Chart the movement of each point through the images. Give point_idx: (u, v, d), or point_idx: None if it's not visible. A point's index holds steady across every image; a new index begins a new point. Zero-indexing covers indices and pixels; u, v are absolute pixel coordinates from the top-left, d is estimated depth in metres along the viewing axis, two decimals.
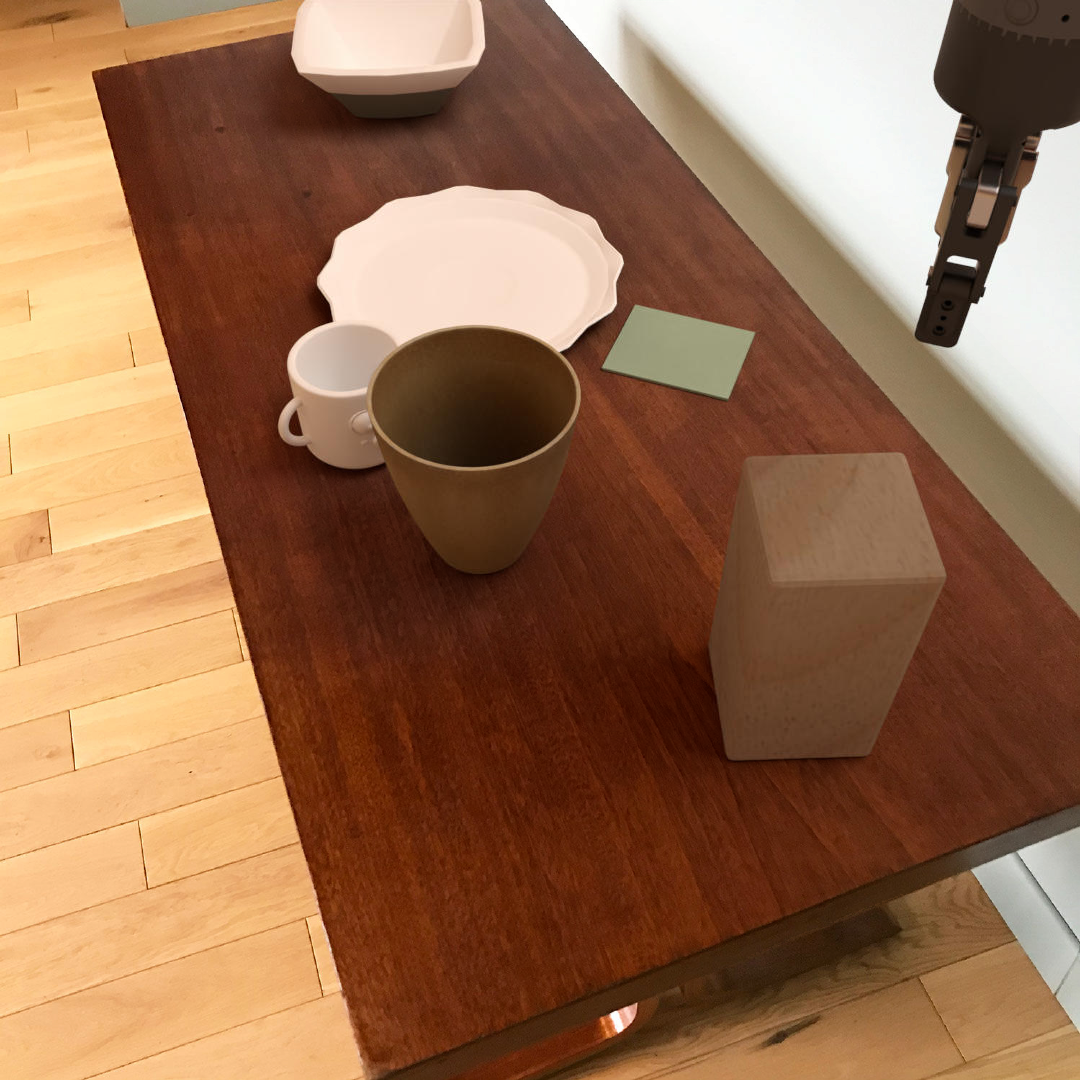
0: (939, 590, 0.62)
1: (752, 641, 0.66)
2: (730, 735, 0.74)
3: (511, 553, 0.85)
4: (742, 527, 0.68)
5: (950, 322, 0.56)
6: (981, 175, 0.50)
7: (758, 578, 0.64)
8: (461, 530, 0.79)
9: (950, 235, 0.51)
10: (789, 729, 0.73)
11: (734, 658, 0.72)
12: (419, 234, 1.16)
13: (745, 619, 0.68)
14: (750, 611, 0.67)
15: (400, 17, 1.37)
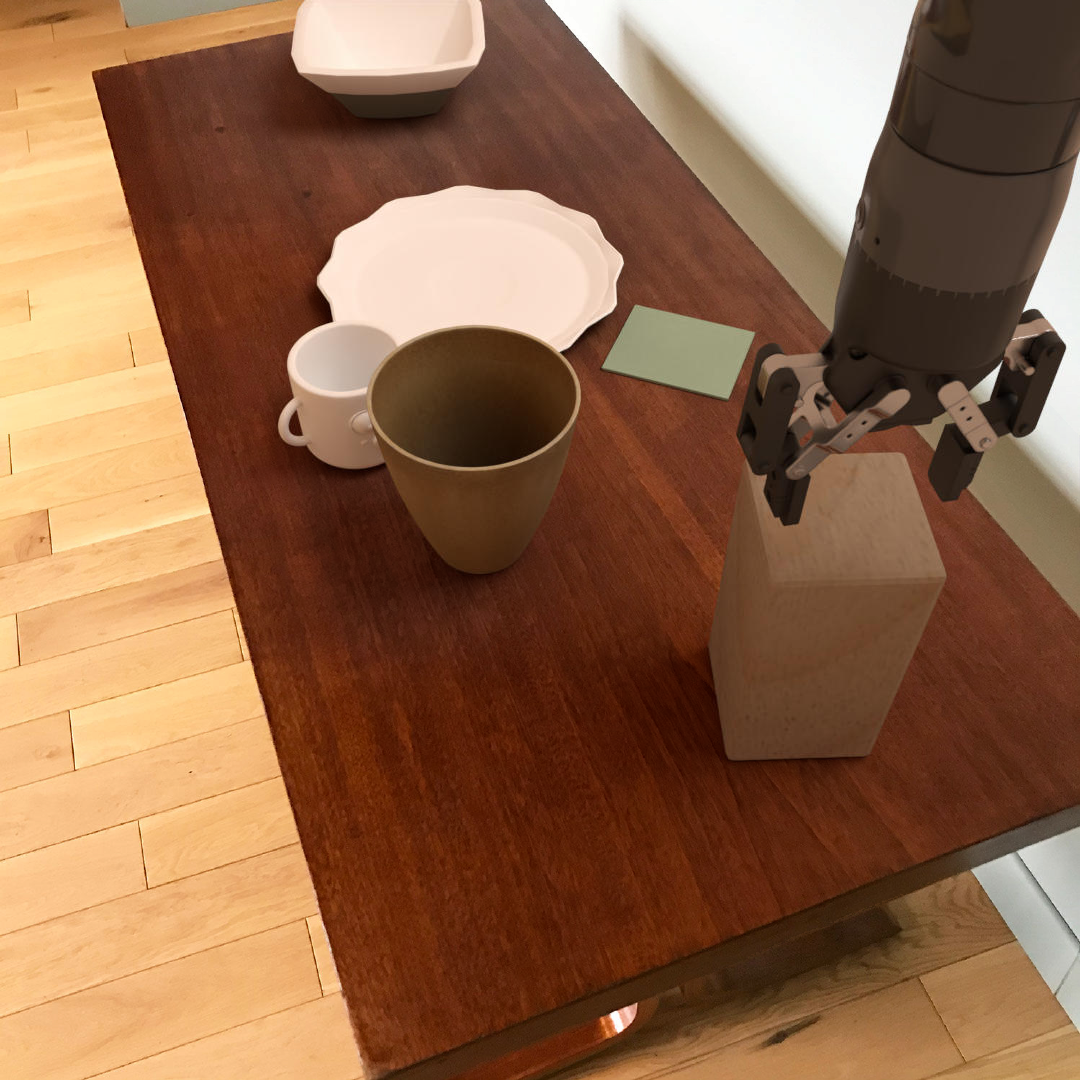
0: (939, 590, 0.62)
1: (752, 641, 0.66)
2: (730, 735, 0.74)
3: (511, 553, 0.85)
4: (742, 527, 0.68)
5: (773, 494, 0.55)
6: (796, 355, 0.49)
7: (758, 578, 0.64)
8: (461, 530, 0.79)
9: (749, 390, 0.51)
10: (789, 729, 0.73)
11: (734, 658, 0.72)
12: (419, 234, 1.16)
13: (745, 619, 0.68)
14: (750, 611, 0.67)
15: (400, 17, 1.37)
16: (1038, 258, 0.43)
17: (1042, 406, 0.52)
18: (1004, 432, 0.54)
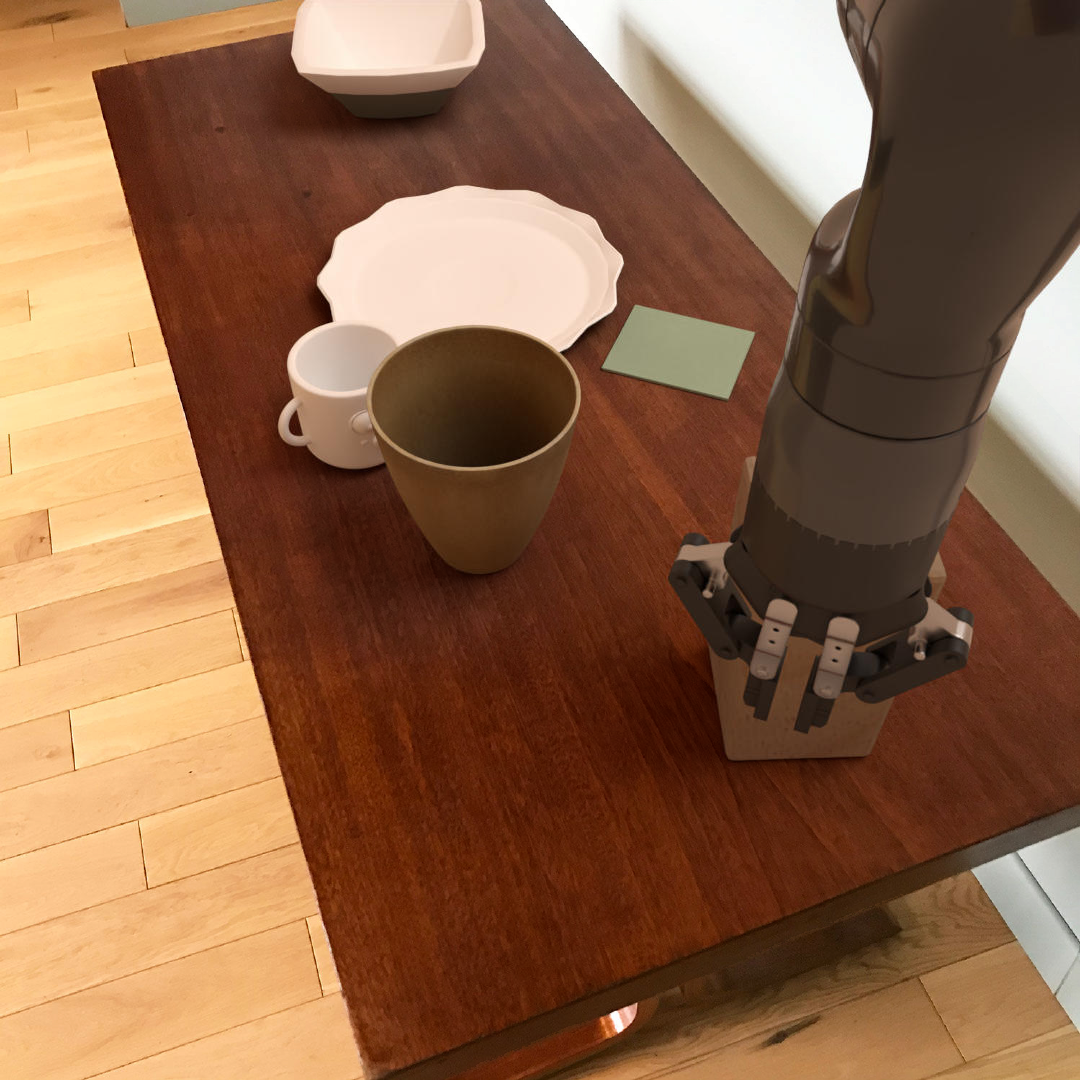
0: (939, 590, 0.62)
1: None
2: (730, 735, 0.74)
3: (511, 553, 0.85)
4: None
5: None
6: (705, 545, 0.49)
7: None
8: (461, 530, 0.79)
9: None
10: (789, 729, 0.73)
11: None
12: (419, 234, 1.16)
13: None
14: None
15: (400, 17, 1.37)
16: (903, 527, 0.39)
17: (899, 692, 0.48)
18: (855, 689, 0.50)
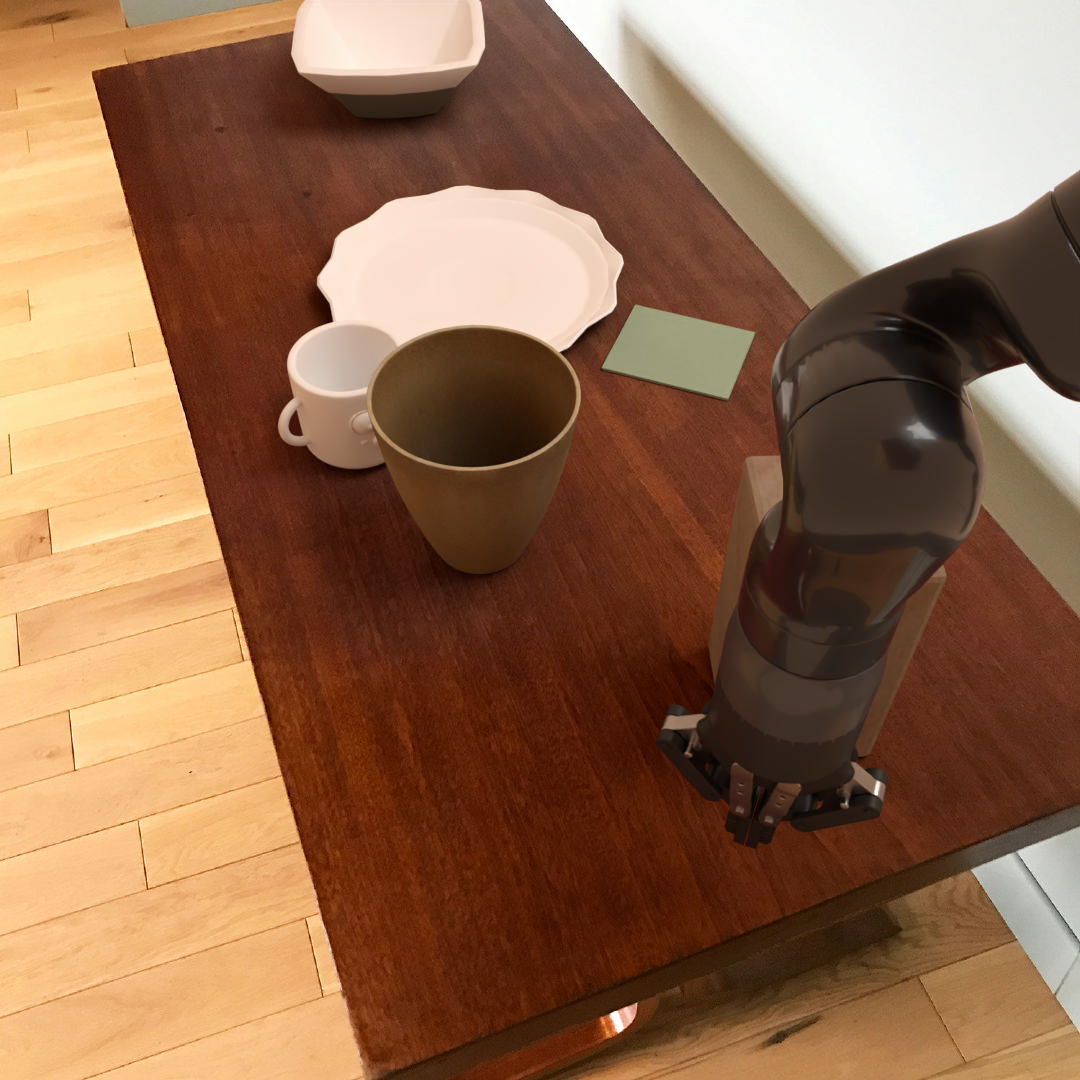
0: (939, 590, 0.62)
1: None
2: None
3: (511, 553, 0.85)
4: (742, 527, 0.68)
5: None
6: (683, 716, 0.61)
7: None
8: (461, 530, 0.79)
9: None
10: None
11: None
12: (419, 234, 1.16)
13: None
14: None
15: (400, 17, 1.37)
16: (827, 732, 0.51)
17: (825, 827, 0.61)
18: (791, 819, 0.63)
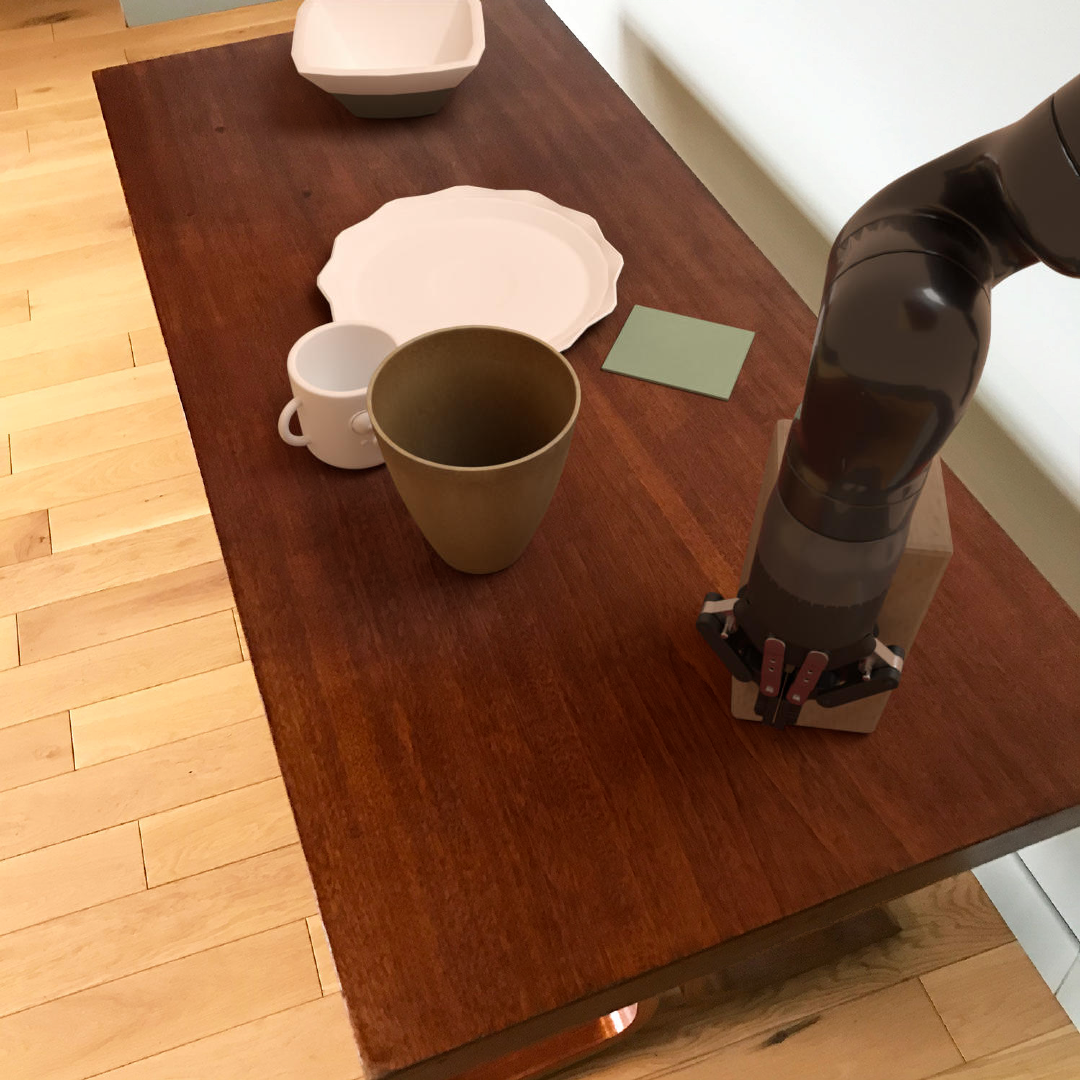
0: (945, 565, 0.63)
1: None
2: (736, 692, 0.76)
3: (511, 553, 0.85)
4: (766, 487, 0.70)
5: None
6: (720, 601, 0.68)
7: None
8: (461, 530, 0.79)
9: None
10: None
11: None
12: (419, 234, 1.16)
13: None
14: None
15: (400, 17, 1.37)
16: (856, 595, 0.58)
17: (848, 701, 0.68)
18: (816, 698, 0.70)
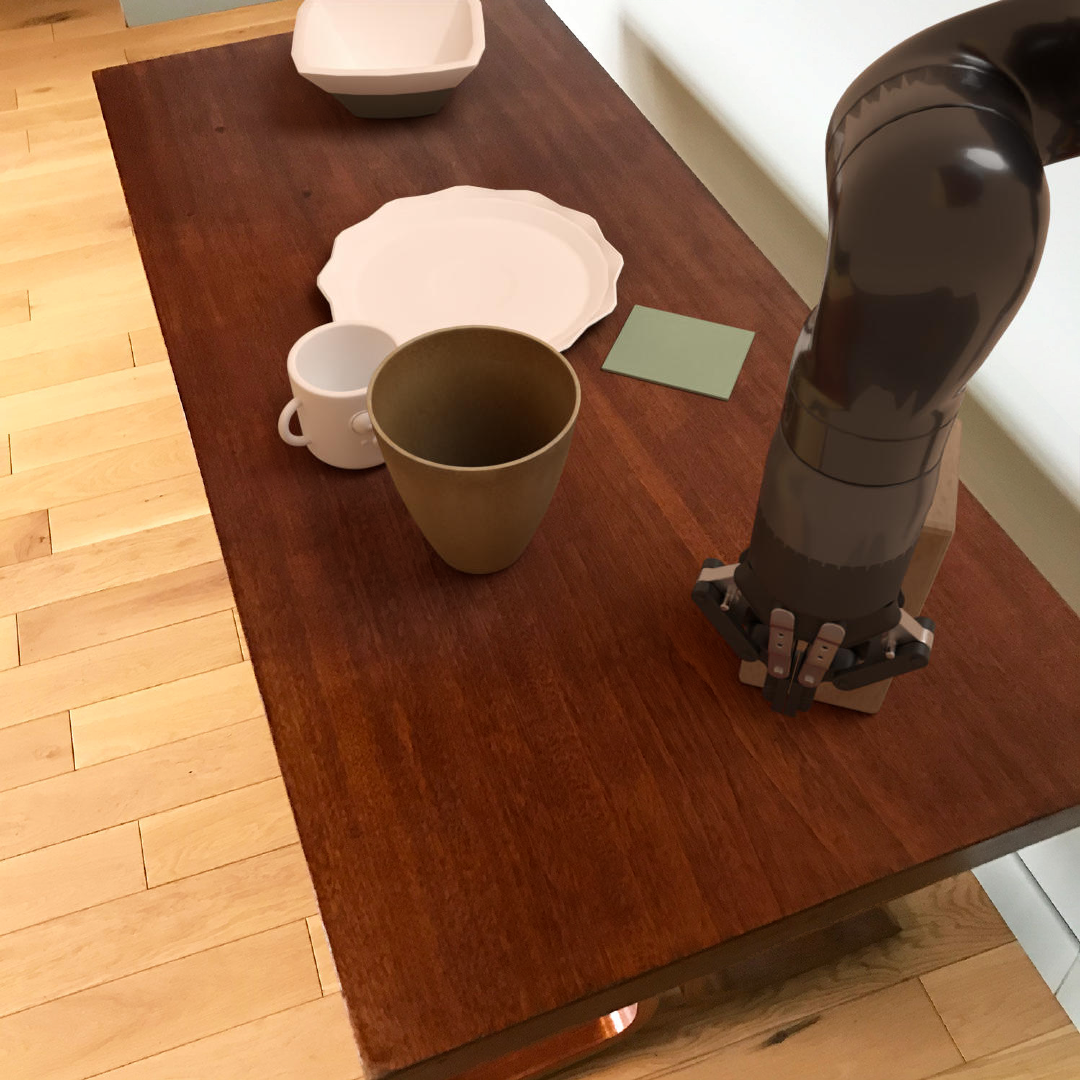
0: (945, 544, 0.64)
1: None
2: None
3: (511, 553, 0.85)
4: None
5: None
6: (720, 567, 0.59)
7: None
8: (461, 530, 0.79)
9: None
10: (797, 662, 0.77)
11: None
12: (419, 234, 1.16)
13: None
14: None
15: (400, 17, 1.37)
16: (875, 553, 0.49)
17: (869, 683, 0.59)
18: (833, 679, 0.60)
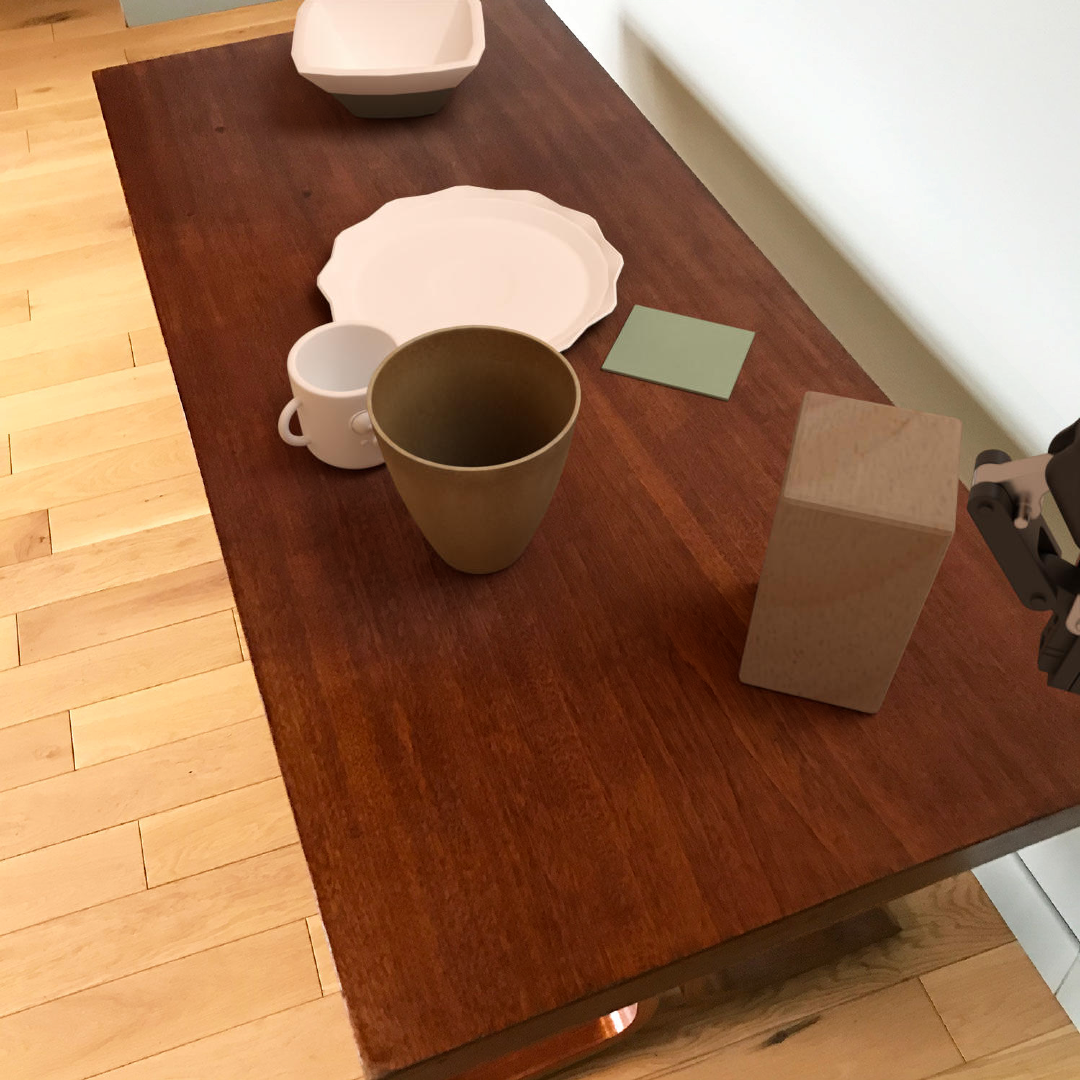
0: (945, 545, 0.64)
1: (766, 558, 0.70)
2: (743, 656, 0.79)
3: (511, 553, 0.85)
4: None
5: (1046, 640, 0.43)
6: (1012, 462, 0.38)
7: None
8: (461, 530, 0.79)
9: None
10: (797, 663, 0.77)
11: (760, 581, 0.76)
12: (419, 234, 1.16)
13: None
14: None
15: (400, 17, 1.37)
16: None
17: None
18: None
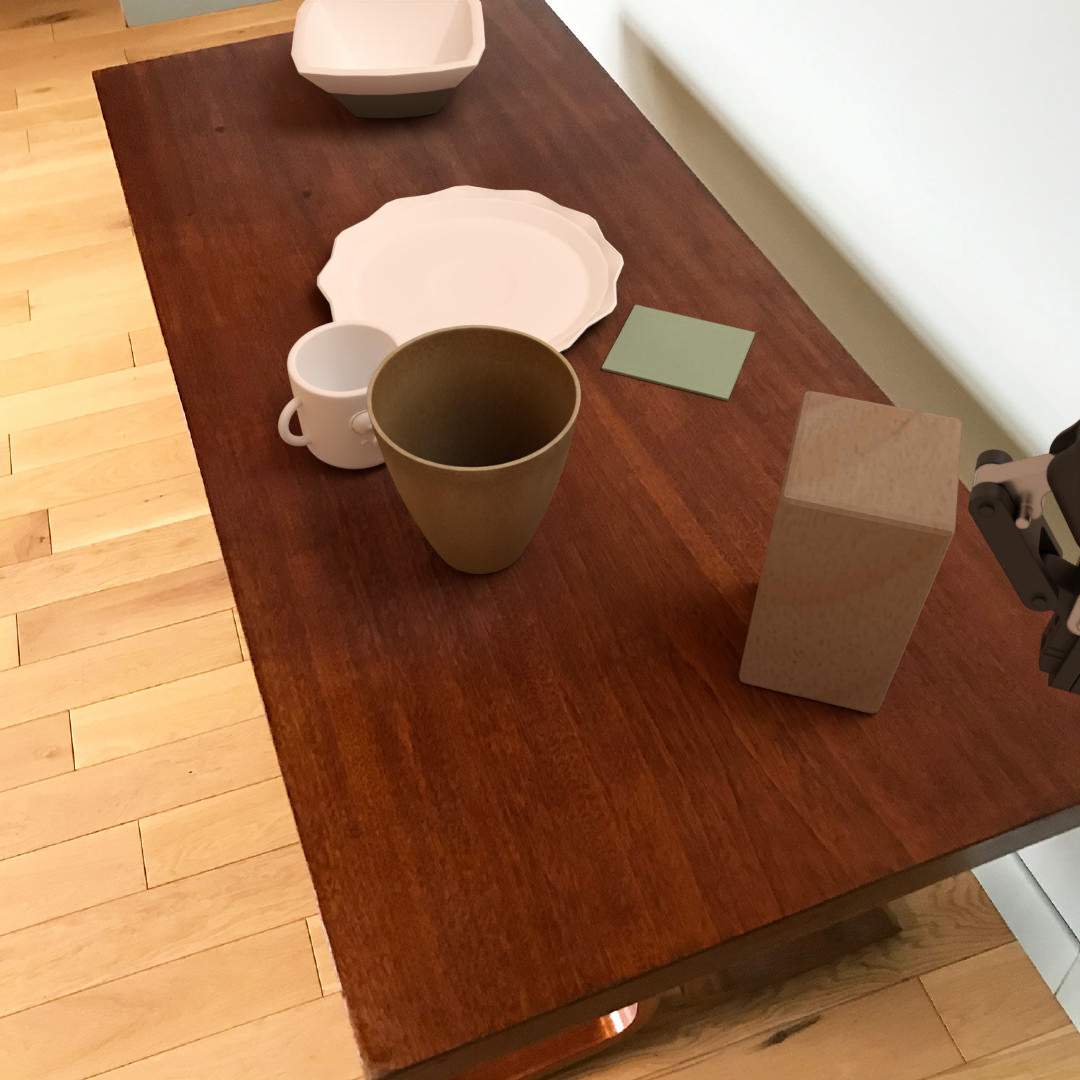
0: (945, 545, 0.64)
1: (766, 558, 0.70)
2: (743, 656, 0.78)
3: (511, 553, 0.85)
4: None
5: (1047, 641, 0.43)
6: (1013, 462, 0.38)
7: (780, 497, 0.68)
8: (461, 530, 0.79)
9: None
10: (797, 663, 0.77)
11: (760, 581, 0.76)
12: (419, 234, 1.16)
13: None
14: (772, 531, 0.71)
15: (400, 17, 1.37)
16: None
17: None
18: None
